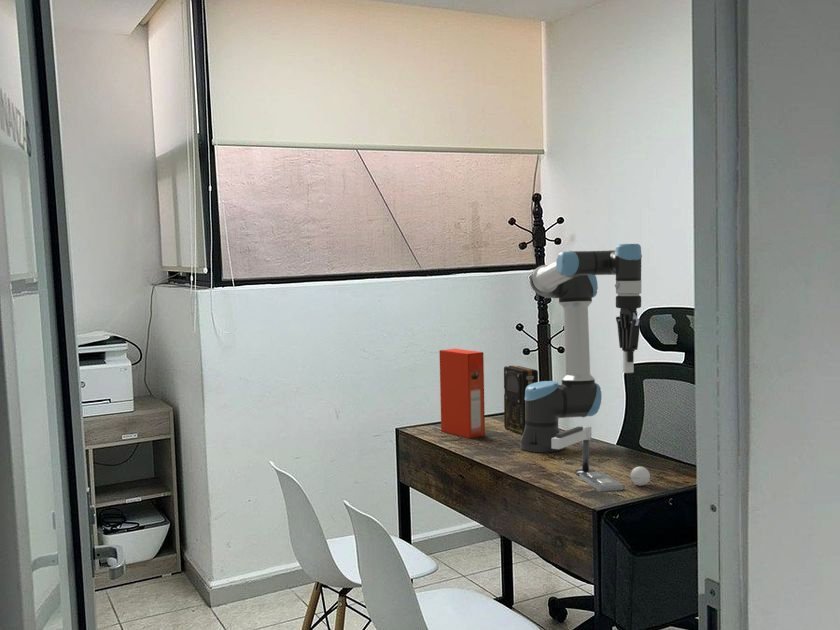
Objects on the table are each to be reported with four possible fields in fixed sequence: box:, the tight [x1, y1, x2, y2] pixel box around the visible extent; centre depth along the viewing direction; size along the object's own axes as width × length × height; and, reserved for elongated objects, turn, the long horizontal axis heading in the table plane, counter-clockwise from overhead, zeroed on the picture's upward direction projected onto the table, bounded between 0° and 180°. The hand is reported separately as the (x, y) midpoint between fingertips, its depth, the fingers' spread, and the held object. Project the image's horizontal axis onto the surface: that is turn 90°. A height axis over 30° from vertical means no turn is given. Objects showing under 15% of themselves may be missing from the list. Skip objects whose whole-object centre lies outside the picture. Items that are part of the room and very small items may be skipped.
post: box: [575, 440, 596, 477], centre depth 269 cm, size 6×6×11 cm
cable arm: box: [551, 425, 592, 449], centre depth 262 cm, size 21×4×4 cm, turn 141°
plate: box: [578, 470, 624, 492], centre depth 258 cm, size 16×7×2 cm, turn 11°
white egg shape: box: [629, 466, 651, 487], centre depth 254 cm, size 8×6×6 cm
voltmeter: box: [503, 365, 539, 436], centre depth 335 cm, size 16×9×25 cm, turn 23°
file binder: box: [439, 348, 486, 439], centre depth 332 cm, size 8×17×32 cm, turn 36°
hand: (628, 372), depth 262 cm, fingers closed
